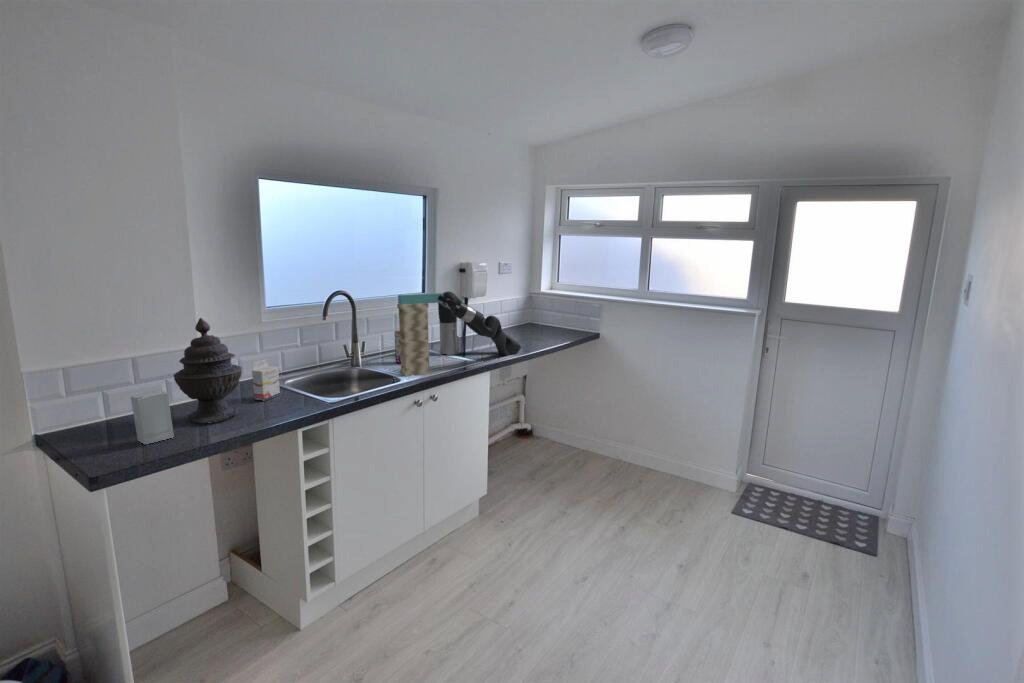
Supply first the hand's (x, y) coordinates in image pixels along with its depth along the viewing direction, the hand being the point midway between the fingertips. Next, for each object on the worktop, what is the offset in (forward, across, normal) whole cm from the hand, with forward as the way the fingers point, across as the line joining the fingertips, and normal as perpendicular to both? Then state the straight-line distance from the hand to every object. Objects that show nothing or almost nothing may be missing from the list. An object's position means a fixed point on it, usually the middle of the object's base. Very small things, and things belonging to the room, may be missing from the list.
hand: (435, 296), depth 244 cm
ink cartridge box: (+46, -9, -67) cm, 82 cm away
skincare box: (+76, -41, -84) cm, 121 cm away
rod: (+4, 0, -6) cm, 7 cm away
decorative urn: (+63, -25, -76) cm, 102 cm away
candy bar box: (-12, +24, -33) cm, 43 cm away
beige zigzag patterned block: (-8, 0, -36) cm, 36 cm away
